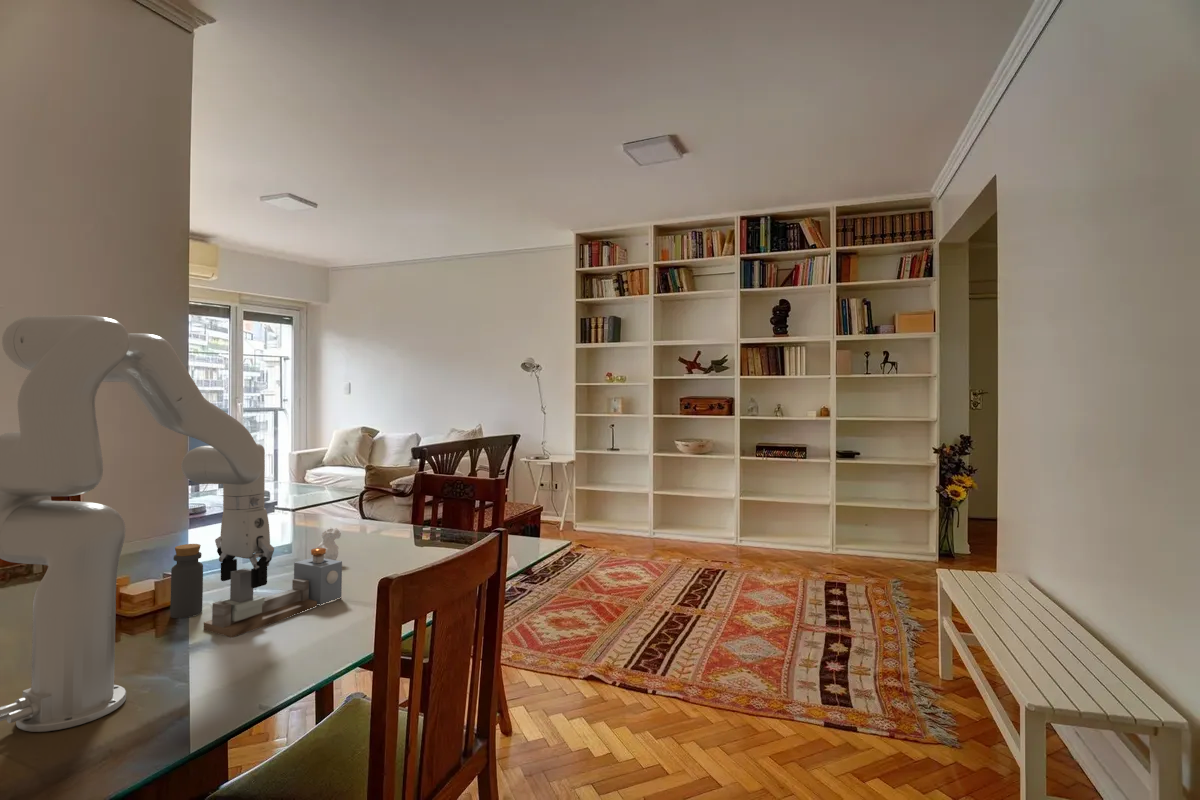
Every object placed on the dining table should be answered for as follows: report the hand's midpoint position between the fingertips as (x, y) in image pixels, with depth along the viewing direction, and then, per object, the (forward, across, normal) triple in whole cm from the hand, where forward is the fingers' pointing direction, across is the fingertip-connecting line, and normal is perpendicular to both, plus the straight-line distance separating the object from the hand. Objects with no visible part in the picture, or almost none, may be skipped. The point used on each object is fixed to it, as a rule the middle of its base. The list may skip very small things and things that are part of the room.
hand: (243, 582), depth 128 cm
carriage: (+7, 0, +1) cm, 7 cm away
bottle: (+9, +17, +2) cm, 19 cm away
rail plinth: (+9, 0, -4) cm, 10 cm away
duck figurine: (+10, +25, -42) cm, 50 cm away
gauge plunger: (+3, 0, -18) cm, 19 cm away
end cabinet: (+9, 0, -18) cm, 20 cm away
